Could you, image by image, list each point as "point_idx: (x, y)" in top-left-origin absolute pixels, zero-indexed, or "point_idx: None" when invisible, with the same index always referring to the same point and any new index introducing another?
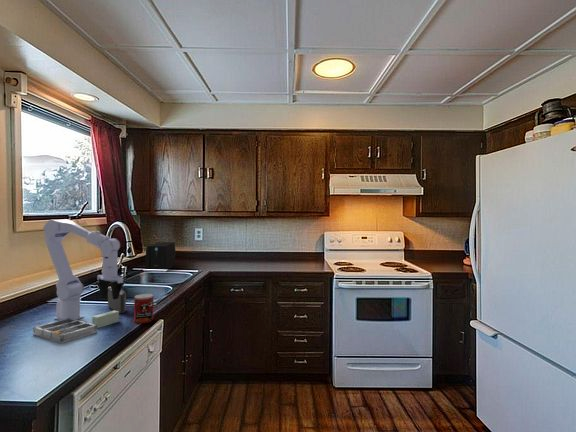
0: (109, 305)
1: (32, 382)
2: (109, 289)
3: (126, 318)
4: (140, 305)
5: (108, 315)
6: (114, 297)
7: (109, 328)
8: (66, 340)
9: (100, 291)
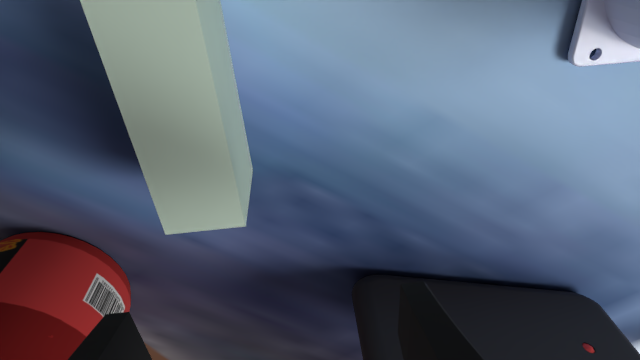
0: (571, 303)
1: None
2: None
3: (221, 243)
4: None
5: (127, 114)
6: (89, 346)
7: (12, 15)
8: None
9: (469, 355)
